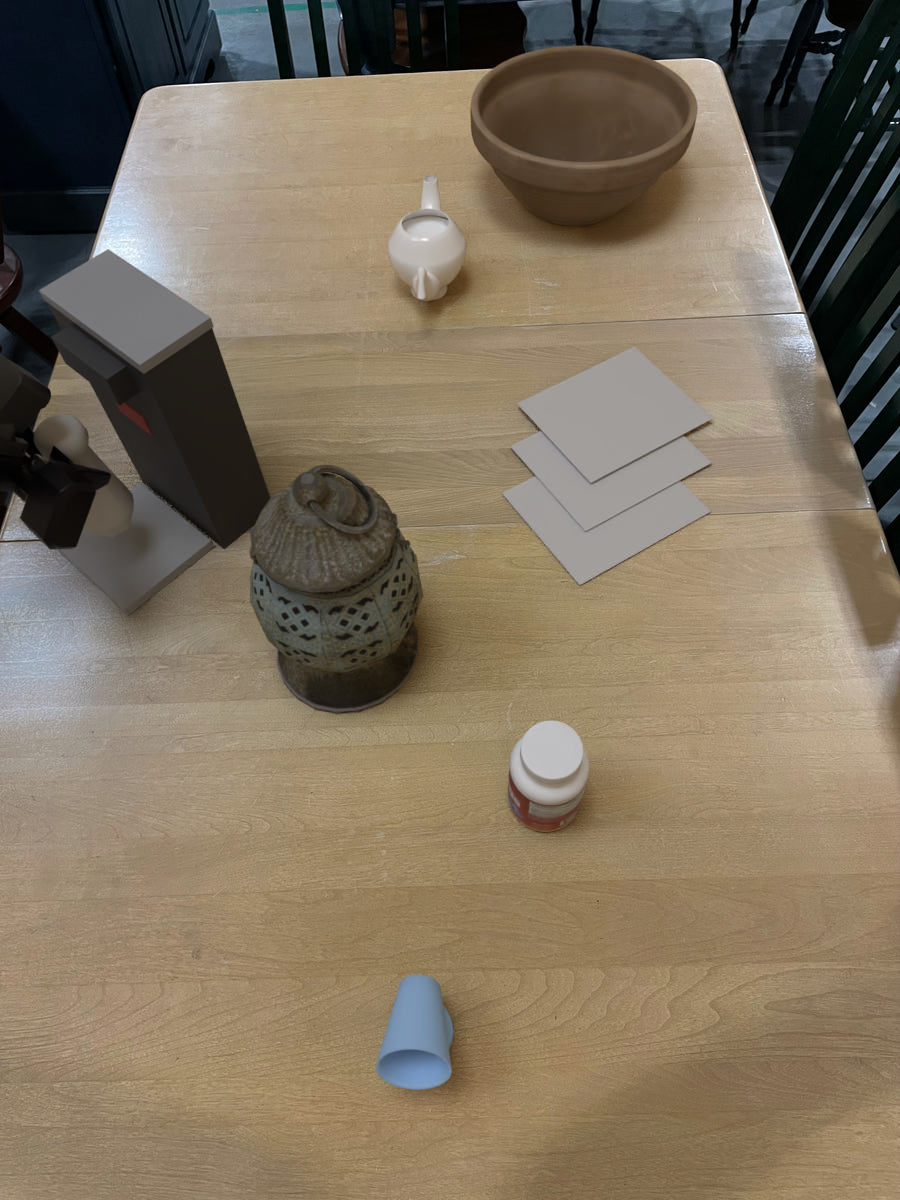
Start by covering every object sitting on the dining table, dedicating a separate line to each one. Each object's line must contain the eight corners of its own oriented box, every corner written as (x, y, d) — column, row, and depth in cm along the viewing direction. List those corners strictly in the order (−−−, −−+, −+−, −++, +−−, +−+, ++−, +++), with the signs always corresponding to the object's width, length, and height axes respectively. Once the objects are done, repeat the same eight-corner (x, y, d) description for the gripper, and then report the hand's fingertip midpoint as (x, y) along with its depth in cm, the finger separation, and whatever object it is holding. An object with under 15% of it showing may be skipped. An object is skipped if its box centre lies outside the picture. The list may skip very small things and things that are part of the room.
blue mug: (455, 1093, 61) (457, 988, 65) (450, 1087, 52) (452, 967, 56) (386, 1091, 61) (392, 987, 65) (370, 1085, 53) (378, 965, 56)
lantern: (319, 569, 86) (264, 384, 65) (449, 612, 82) (436, 433, 61) (251, 685, 79) (164, 522, 58) (389, 738, 76) (351, 585, 55)
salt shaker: (116, 489, 85) (62, 392, 74) (153, 516, 83) (104, 421, 72) (69, 526, 83) (6, 432, 72) (107, 555, 81) (48, 463, 70)
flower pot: (679, 143, 123) (698, 45, 112) (677, 268, 109) (699, 169, 97) (485, 135, 127) (485, 39, 115) (458, 255, 112) (455, 158, 101)
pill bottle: (509, 760, 74) (512, 707, 65) (580, 766, 74) (594, 712, 64) (505, 831, 71) (507, 785, 61) (579, 837, 70) (593, 791, 61)
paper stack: (771, 477, 90) (773, 473, 89) (579, 585, 83) (580, 581, 83) (633, 351, 101) (634, 346, 100) (454, 438, 94) (454, 433, 94)
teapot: (385, 342, 103) (376, 276, 95) (399, 240, 114) (392, 174, 106) (463, 342, 103) (461, 277, 95) (470, 240, 113) (469, 173, 105)
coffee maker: (134, 622, 83) (14, 448, 62) (53, 546, 89) (-84, 362, 67) (276, 508, 90) (210, 317, 69) (192, 444, 96) (107, 248, 74)
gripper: (18, 417, 58) (192, 439, 72) (-113, 302, 65) (67, 342, 79) (-26, 554, 62) (147, 551, 75) (-146, 431, 69) (32, 448, 82)
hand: (97, 468), depth 78 cm, fingers closed on salt shaker, 3 cm apart
